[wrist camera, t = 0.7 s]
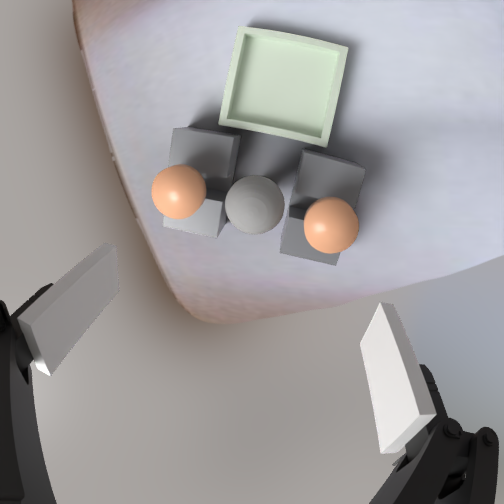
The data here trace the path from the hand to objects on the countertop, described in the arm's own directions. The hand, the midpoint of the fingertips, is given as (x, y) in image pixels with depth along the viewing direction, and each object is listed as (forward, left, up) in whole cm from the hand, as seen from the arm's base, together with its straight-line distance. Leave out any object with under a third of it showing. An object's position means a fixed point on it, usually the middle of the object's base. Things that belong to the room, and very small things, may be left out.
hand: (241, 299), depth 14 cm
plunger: (0, -8, -19) cm, 21 cm away
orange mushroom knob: (0, +6, -19) cm, 20 cm away
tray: (-12, -1, -22) cm, 25 cm away
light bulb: (0, -1, -22) cm, 22 cm away
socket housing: (0, -1, -22) cm, 22 cm away
